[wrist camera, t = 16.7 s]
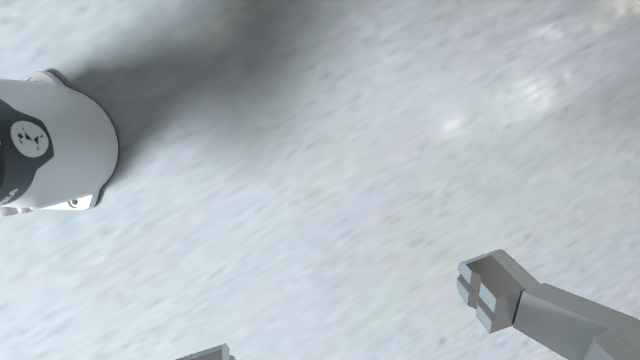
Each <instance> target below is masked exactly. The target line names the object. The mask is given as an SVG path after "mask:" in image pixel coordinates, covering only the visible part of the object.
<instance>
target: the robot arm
mask: <svg viewBox="0 0 640 360" xmlns="http://www.w3.org/2000/svg"><path fill="white" fill-rule="evenodd" d="M117 158H118V141H117V136H116V132H115V129H114V127H113V125H112V123H111V121H110V119H109V117H108V116H107V114H106V113H105V112H104V110H103V109H102V108H101V107H100V106H99V105H98V104H97V103H96V102H95V101H93V100H92V99H91V98H89V97H88V96H86V95H84V94H82V93H80V92H78V91H75V90H73V89H70V88H68V87H67V86H65V85H64V84H63V83H62V82H61V81H60V80H59V79H58V78H57V77H56V76H54V75H53V74H52V73H50V72H46V71H38V72H35V73H33V74H31V75H29V76H27V77H25V78H23V79H21V80H7V79H0V217H2V216H9V215H14V214H17V213H28V212H32V211H33V210H87V209H91V208H93V207H94V206H95V204H96V202H97V199H98V195H99V191H100V189H101V187H102V186H103V185H104V184H105V183H106V182H107V180H108V179H109V178H110V176H111V175H112V173H113V171H114V169H115V166H116V163H117ZM76 200H77V201H78V203H77V202H76ZM458 271H459V272H460V273H461V274H460V276H459V277H458V278H457V287H458V290H459V293H460V295H461V297H462V298H463V300H464V301H465V303H466V304H467V305H468V306H470V307H472V308H475V309H476V317H477V318H478V319H479V321H480V322H481V323H482V325H483V326H484V327H485V328H486V330H487V331H488V332H489V333H493V332H496V331H499V330H502V329H504V328H507V327H510V326H513V327H514V328H515V329H517V330H519V331H520V332H522V333H524V334H526V335H527V336H529V337H531V338H532V339H534V340H536V341H537V342H539V343H541V344H542V345H544V346H546V347H548V348H549V349H551V350H553V351H554V352H556V353H558V354H559V355H561V356H563V357H564V358H566V359H568V360H640V321H639V320H638V319H637V318H634V317H632V316H629V315H626V314H624V313H621V312H619V311H616V310H614V309H611V308H608V307H606V306H603V305H601V304H598V303H595V302H593V301H590V300H588V299H585V298H583V297H580V296H577V295H575V294H572V293H570V292H567V291H564V290H562V289H559V288H557V287H554V286H551V285H549V284H546V283H543V284H540V283H539V282H538V281H537V280H536V279H535V278H534V277H532V276H531V275H530V274H529V273H528V272H527V271H526V270H525V269H524V268H523V267H522V266H520V265H519V264H518V263H517V262H516V261H515V260H514V259H513V258H512V257H511V256H509V255H508V254H507V253H506V252H505V251H503V250H501V249H499V250H495V251H493V252H490V253H487V254H483V255H480V256H477V257H474V258H472V259H469V260H466V261H463V262H461V263H460V264H459V265H458ZM176 360H236V359H235V357H234V356H232V355H229V348H228V346H227V345H226V343H225V344H222V345H219V346H215V347H212V348H209V349H206V350H203V351H200V352H197V353H194V354H190V355H188V356H185V357H182V358H179V359H176Z"/></svg>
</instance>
